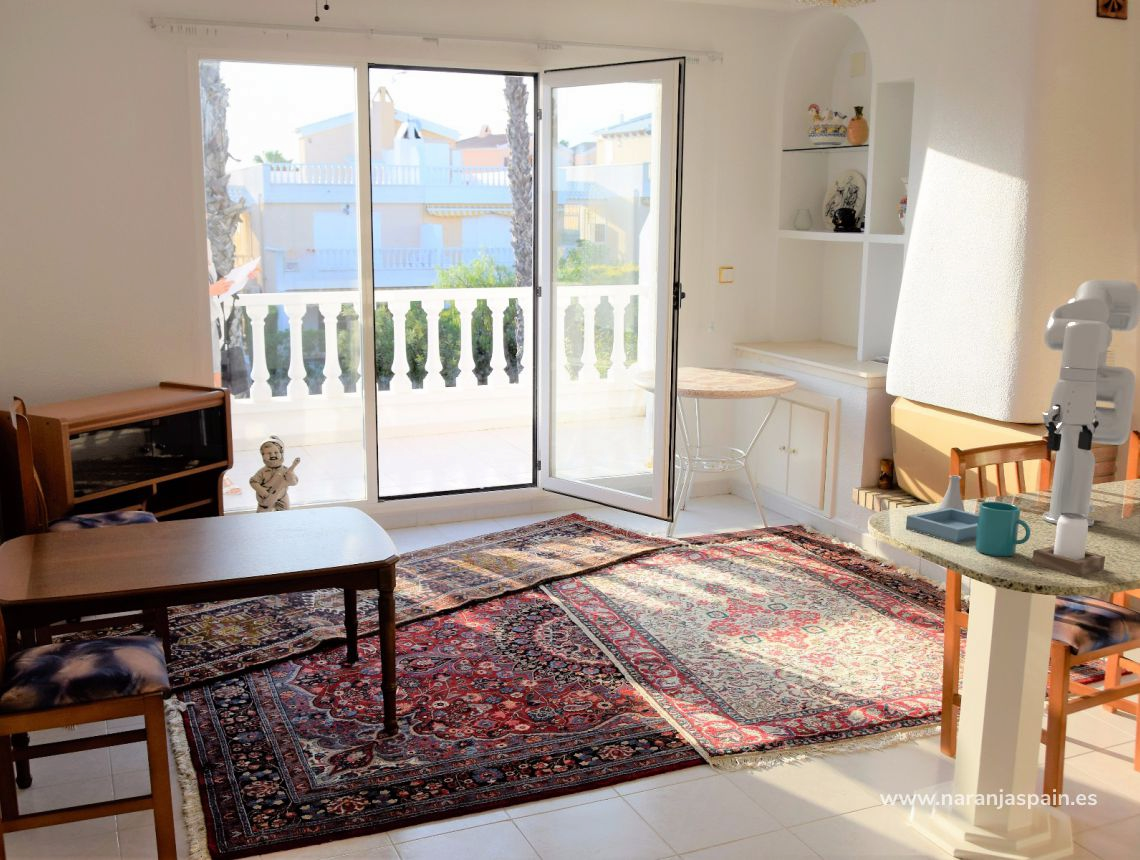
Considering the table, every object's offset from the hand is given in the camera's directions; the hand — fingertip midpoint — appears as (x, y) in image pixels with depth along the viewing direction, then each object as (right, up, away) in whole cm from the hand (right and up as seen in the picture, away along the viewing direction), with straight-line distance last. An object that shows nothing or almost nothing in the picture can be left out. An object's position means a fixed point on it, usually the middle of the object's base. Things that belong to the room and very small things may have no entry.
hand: (1068, 449), depth 248 cm
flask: (-10, -18, +47) cm, 51 cm away
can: (-1, -27, -1) cm, 27 cm away
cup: (-12, -25, +8) cm, 29 cm away
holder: (-1, -27, -1) cm, 27 cm away
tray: (-18, -21, +26) cm, 38 cm away
